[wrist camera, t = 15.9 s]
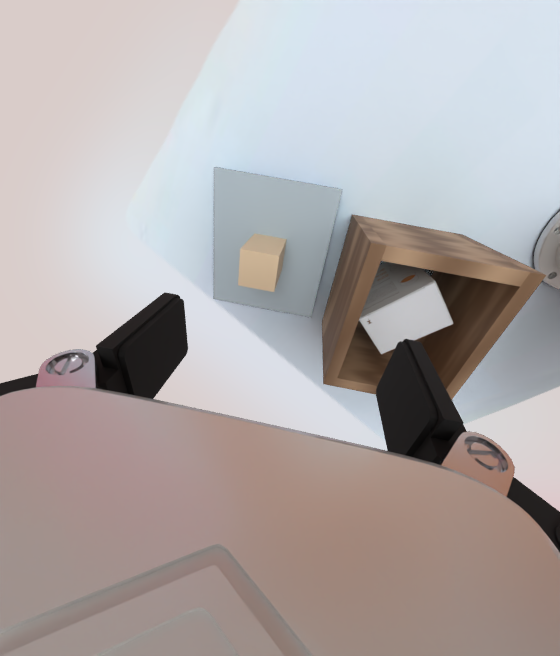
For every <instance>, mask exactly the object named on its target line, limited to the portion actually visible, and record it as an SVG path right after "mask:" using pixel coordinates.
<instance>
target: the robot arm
mask: <svg viewBox="0 0 560 656" xmlns="http://www.w3.org/2000/svg"><path fill="white" fill-rule="evenodd" d="M534 266H535V270H537V271H539V272H541V273H543V274H545V275H546V277H545V278H544V279H543V281H544V282H545V283H547V284H549V285H550V286H552V287H554V288H557V289H559V290H560V211H559V212H558V213H557V214H556V215H555V216H554V217H553V218H552V219H551V221H550V222H549V224H548V225H547V226H546V228H545V229H544V230H543V232H542V234H541V236H540V238H539V240H538V242H537V245H536V248H535V251H534ZM185 323H186V321H185V310H184V301H183V300H182V299H180V296H178V295H175V294H170V293H164V294H162V295H161V296H160V297H158V298H157V299H156V300H154V301H153V302H152V303H151V304H149V305H148V306H147V307H145V308H144V309H143V310H142V311H140V312H139V313H138V314H137V315H135V316H134V317H132V318H131V319H130V320H129V321H127V322H126V323H125V324H123V325H122V326H121V327H120V328H118V329H117V330H116V331H114V332H113V333H112V334H111V335H109V336H108V337H107V338H105V339H104V340H103V341H102V342H100V343H99V344H98V345H97V346H96V348H97V350H96V351H95V352H93V353H91V352H90V351H87V350H81V349H75V350H68V351H65V352H61V353H58V354H56V355H53V356H52V357H50V358H49V359H47V360H46V361H45V362H44V363H43V364H42V365H41V367H40V369H39V373H38V374H36V375H31V376H28V377H24V378H20V379H16V380H12V381H8V382H4V383H1V384H0V656H560V512H559V511H558V510H556V509H555V508H554V507H552V506H551V505H550V504H548V503H547V502H546V501H545V500H543V499H542V498H541V497H539V496H538V495H537V494H535V493H534V492H533V491H531V490H530V489H529V488H527V487H526V486H525V485H523V484H522V483H521V482H519V481H518V480H517V479H516V478H514V477H513V476H514V468H515V467H514V465H513V462H512V460H511V458H510V457H509V456H508V454H507V453H506V452H505V451H504V450H503V449H502V448H501V447H500V446H499V445H497V443H495V442H494V441H493V440H491V439H489V438H488V437H486V436H484V435H481V434H479V433H476V432H470V431H469V432H467V431H466V429H465V427H464V425H463V421H462V419H461V417H460V415H459V413H458V411H457V410H456V408H455V406H454V404H453V402H452V400H451V398H450V396H449V394H448V392H447V391H446V389H445V387H444V385H443V383H442V381H441V379H440V377H439V375H438V373H437V372H436V370H435V368H434V366H433V364H432V362H431V360H430V358H429V356H428V354H427V353H426V351H425V349H424V347H423V345H422V343H421V342H419V341H414V340H409V339H404V340H403V342H401V341H400V342H398V344H397V346H396V348H395V350H394V352H393V354H392V356H391V358H390V360H389V362H388V365H387V367H386V369H385V371H384V373H383V375H382V377H381V379H380V381H379V383H378V386H377V388H376V397H377V402H378V406H379V411H380V416H381V421H382V425H383V430H384V435H385V440H386V445H387V449H388V451H385V450H380V449H377V448H372V447H368V446H364V445H359V444H355V443H351V442H346V441H342V440H337V439H333V438H328V437H324V436H320V435H315V434H311V433H306V432H302V431H297V430H293V429H289V428H284V427H279V426H274V425H270V424H266V423H261V422H257V421H252V420H248V419H243V418H239V417H234V416H229V415H224V414H220V413H215V412H211V411H206V410H202V409H196V408H192V407H187V406H183V405H178V404H174V403H169V402H164V401H160V400H155V399H153V398H154V397H155V396H156V394H157V393H158V392H159V390H160V389H161V387H162V386H163V385H164V383H165V382H166V381H167V379H168V378H169V377H170V375H171V374H172V373H173V372H174V370H175V369H176V367H177V366H178V365H179V364H180V362H181V361H182V359H183V358H184V357H185V355H186V354H187V350H188V344H187V333H186V324H185Z"/></svg>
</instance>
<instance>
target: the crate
mask: <svg viewBox="0 0 560 656" xmlns="http://www.w3.org/2000/svg"><path fill="white" fill-rule="evenodd" d="M381 261H385V262H391V263H396V264H401V265H407V266H412V267H417V268H423V269H428V270H434V271H433V273H432V275H431V277H432V278H433V279H434V280H435V281H436V283H437V286H438V288H439V290H440V292H441V295H442V297H443V299H444V302H445V304H446V306H447V309H448V311H449V313H450V316H451V318H452V320H453V324H452V325H450V326H447V327H445V328H442V329H440V330H438V331H435V332H433V333H431V334H428V335H426V336H424V337H421V338H419V339H416V340H414V341H419V342H421V343H422V345H423V347H424V349H425V351H426V353H427V354H428V356H429V358H430V360H431V362H432V364H433V366H434V368H435V370H436V372H437V373H438V375H439V377H440V379H441V381H442V383H443V385H444V387H445V389H446V391H447V392H448V394H449V396H450V398H451V400H452V399H453V397H454V396H455V395H456V393H457V392H458V391H459V389H460V388H461V387H462V385H463V384H464V383H465V382H466V380H467V379H468V378H469V376H470V375H471V374H472V372H473V371H474V370H475V368H476V367H477V366H478V364H479V363H480V362H481V361H482V359H483V358H484V357H485V355H486V354H487V353H488V351H489V350H490V349H491V347H492V346H493V345H494V343H495V342H496V341H497V340H498V338H499V337H500V336H501V334H502V333H503V332H504V330H505V329H506V328H507V326H508V325H509V324H510V322H511V321H512V320H513V319H514V317H515V316H516V315H517V313H518V312H519V311H520V309H521V308H522V307H523V305H524V304H525V303H526V301H527V300H528V299H529V298H530V296H531V295H532V294H533V292H534V291H535V290H536V288H537V287H538V286H539V284H540V283H541V282H542V280H543V279H544V278H545V277H546V275H545V274H543V273H541V272H539V271H537V270H535V269H533V268H531V267H528V266H526V265H524V264H522V263H520V262H518V261H516V260H514V259H512V258H510V257H508V256H506V255H504V254H501V253H499V252H497V251H495V250H493V249H491V248H489V247H487V246H485V245H483V244H481V243H479V242H477V241H474V240H472V239H470V238H468V237H466V236H464V235H461V234H456V233H450V232H445V231H439V230H434V229H428V228H423V227H417V226H412V225H406V224H401V223H395V222H390V221H384V220H379V219H373V218H368V217H363V216H357V215H352V217H351V220H350V224H349V227H348V231H347V234H346V238H345V242H344V245H343V249H342V252H341V256H340V259H339V263H338V266H337V270H336V273H335V277H334V281H333V284H332V288H331V291H330V295H329V298H328V302H327V305H326V309H325V313H324V316H323V320H322V342H323V384H327V385H332V386H337V387H342V388H347V389H352V390H357V391H362V392H367V393H372V394H376V388H377V386H378V383H379V381H380V379H381V377H382V375H383V373H384V371H385V369H386V367H387V365H388V362H389V360H390V358H391V356H392V354H393V352H394V350H395V349H393V350H391V351H388V352H386V353H384V354H380V352H379V351H378V349H377V347H376V346H375V344H374V343H373V341H372V340H371V338H370V337H369V335H368V333H367V332H366V330H365V329H364V327H363V326H362V324H361V323H360V321H359V318H360V316H361V313H362V310H363V308H364V305H365V302H366V300H367V297H368V294H369V292H370V289H371V286H372V284H373V281H374V278H375V276H376V273H377V270H378V268H379V265H380V262H381Z"/></svg>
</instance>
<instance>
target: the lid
mask: <svg viewBox="0 0 560 656" xmlns="http://www.w3.org/2000/svg"><path fill="white" fill-rule="evenodd" d="M341 194H342V189H338V188H332V187H327V186H321V185H315V184H310V183H304V182H298V181H292V180H287V179H281V178H275V177H270V176H264V175H258V174H252V173H247V172H241V171H235V170H230V169H224V168H218V167H214V273H213V299H216V300H221V301H226V302H232V303H237V304H242V305H247V306H253V307H258V308H263V309H268V310H274V311H279V312H284V313H290V314H295V315H300V316H305V317H311V316H312V312H313V308H314V304H315V300H316V295H317V291H318V287H319V283H320V279H321V275H322V271H323V267H324V263H325V259H326V255H327V251H328V247H329V243H330V239H331V235H332V231H333V226H334V222H335V218H336V214H337V210H338V206H339V202H340V198H341Z"/></svg>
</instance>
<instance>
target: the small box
mask: <svg viewBox="0 0 560 656" xmlns="http://www.w3.org/2000/svg"><path fill="white" fill-rule="evenodd" d="M359 321H360V323H361V324H362V326H363V327H364V329H365V330H366V332H367V333H368V335H369V337H370V338H371V340H372V341H373V343H374V344H375V346H376V347H377V349H378V351H379V352H380V354H384V353H386V352H388V351H391V350H393V349H395V348H396V346H397V344H398V342H400V341H401V342H403V340H404V339H409V340H416V339H419V338H421V337H424V336H426V335H428V334H431V333H433V332H435V331H438V330H440V329H442V328H445V327H447V326H450V325H452V324H453V320H452V318H451V316H450V313H449V311H448V309H447V306H446V304H445V302H444V299H443V297H442V295H441V292H440V290H439V288H438V286H437V283H436V281H435V280H434V279H433V278H432V277H430V276H429V275H428V274H427V273H426V272H425V271H424V270H423V269H422V268H417V267H412V266H407V265H401V264H396V263H391V262H385V263H383V264H381V265H379V268H378V270H377V273H376V276H375V278H374V281H373V284H372V286H371V289H370V292H369V294H368V297H367V300H366V302H365V305H364V308H363V310H362V313H361V316H360V318H359Z"/></svg>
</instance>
